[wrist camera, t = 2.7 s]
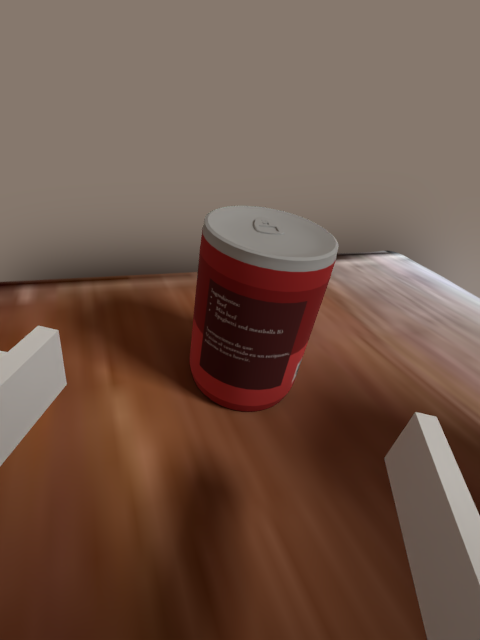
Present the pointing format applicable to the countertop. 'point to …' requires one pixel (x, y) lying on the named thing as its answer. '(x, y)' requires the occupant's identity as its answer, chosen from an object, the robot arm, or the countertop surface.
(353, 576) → the countertop surface
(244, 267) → the canned food
